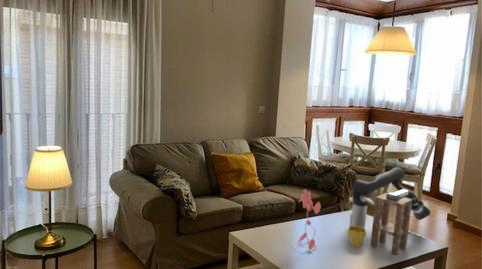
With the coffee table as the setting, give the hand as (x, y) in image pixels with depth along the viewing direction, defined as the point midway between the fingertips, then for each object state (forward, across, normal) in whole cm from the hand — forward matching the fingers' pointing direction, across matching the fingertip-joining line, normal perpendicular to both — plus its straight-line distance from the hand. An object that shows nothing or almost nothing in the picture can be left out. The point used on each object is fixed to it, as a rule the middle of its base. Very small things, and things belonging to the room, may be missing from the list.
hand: (408, 197), depth 247 cm
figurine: (+40, -34, +55) cm, 76 cm away
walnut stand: (+5, 0, +34) cm, 35 cm away
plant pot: (+15, -15, +41) cm, 46 cm away
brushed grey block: (+16, 0, +5) cm, 16 cm away
